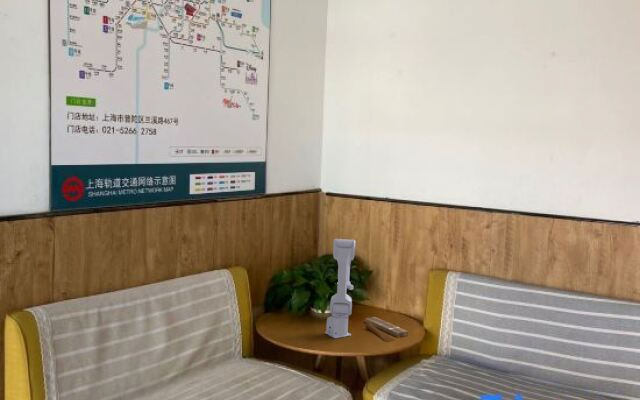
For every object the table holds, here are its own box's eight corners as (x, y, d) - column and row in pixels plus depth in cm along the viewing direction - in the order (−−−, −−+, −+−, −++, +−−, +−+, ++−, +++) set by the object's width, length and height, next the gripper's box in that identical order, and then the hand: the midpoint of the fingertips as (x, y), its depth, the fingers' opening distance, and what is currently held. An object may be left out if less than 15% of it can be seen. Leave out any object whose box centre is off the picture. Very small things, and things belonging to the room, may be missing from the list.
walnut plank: (397, 337, 263) (398, 332, 263) (365, 322, 283) (365, 318, 283) (407, 335, 267) (407, 331, 266) (374, 320, 286) (375, 316, 286)
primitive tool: (396, 341, 259) (396, 333, 259) (386, 343, 256) (386, 335, 256) (370, 328, 275) (371, 321, 275) (361, 330, 272) (361, 323, 272)
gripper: (359, 276, 280) (357, 303, 281) (341, 269, 292) (340, 296, 293) (347, 277, 276) (345, 305, 277) (330, 271, 288) (328, 297, 289)
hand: (342, 300), depth 285 cm, fingers closed
